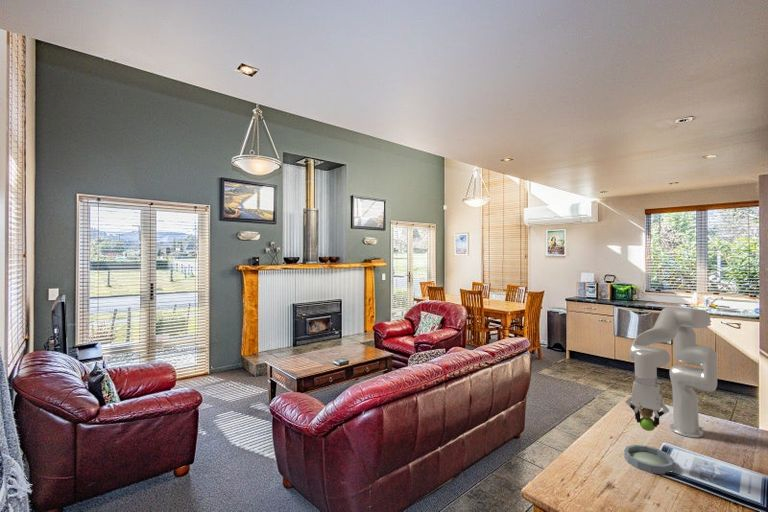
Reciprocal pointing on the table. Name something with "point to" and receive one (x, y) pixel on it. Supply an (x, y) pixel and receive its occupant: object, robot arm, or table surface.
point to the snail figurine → (646, 418)
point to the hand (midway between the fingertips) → (647, 423)
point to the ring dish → (648, 459)
